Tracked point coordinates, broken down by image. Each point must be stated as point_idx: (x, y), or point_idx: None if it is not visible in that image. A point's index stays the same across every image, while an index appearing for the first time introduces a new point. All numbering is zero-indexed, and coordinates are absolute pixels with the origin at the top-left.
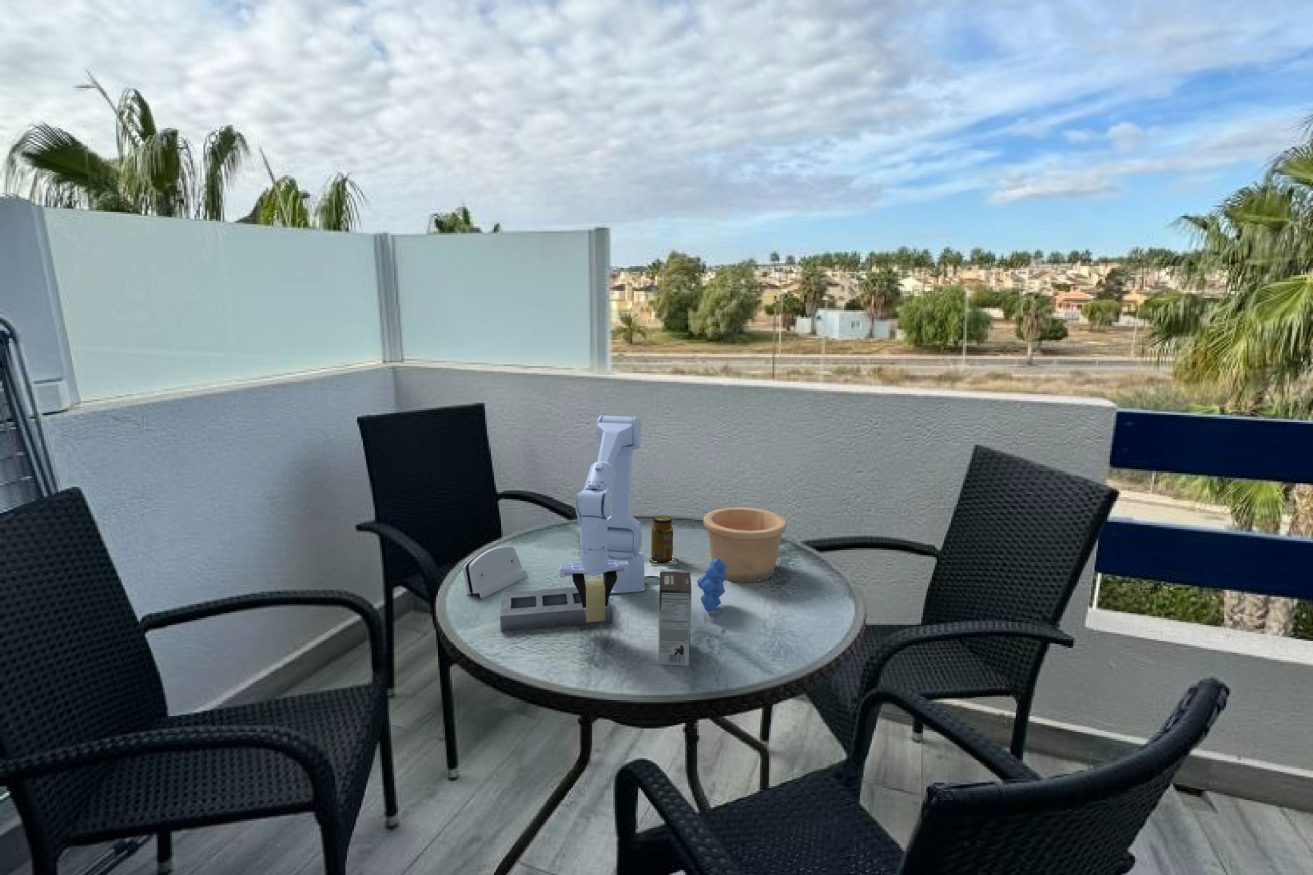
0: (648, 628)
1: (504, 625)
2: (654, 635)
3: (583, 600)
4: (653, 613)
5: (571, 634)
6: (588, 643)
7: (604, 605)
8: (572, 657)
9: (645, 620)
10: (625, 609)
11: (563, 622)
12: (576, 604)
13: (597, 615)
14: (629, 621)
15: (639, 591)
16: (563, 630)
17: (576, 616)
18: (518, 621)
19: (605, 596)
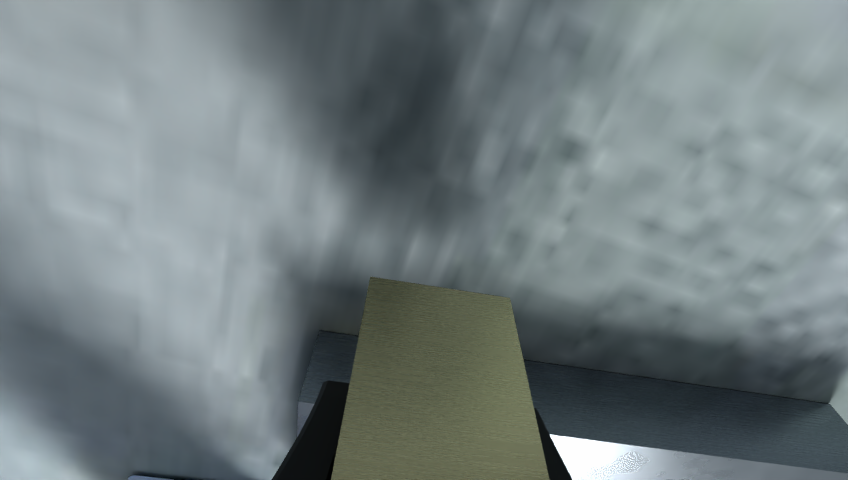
0: (104, 208)
1: (832, 425)
2: (57, 114)
3: (555, 476)
4: (81, 331)
5: (555, 288)
6: (508, 170)
7: (357, 379)
8: (693, 27)
9: (125, 288)
10: (227, 394)
11: (558, 378)
12: None
13: (427, 318)
14: (217, 304)
15: (152, 477)
16: (574, 331)
17: None
18: (781, 430)
19: (324, 475)
